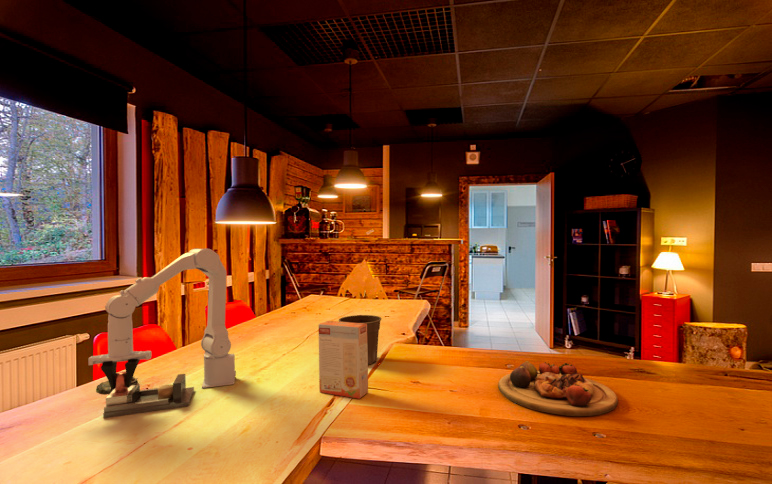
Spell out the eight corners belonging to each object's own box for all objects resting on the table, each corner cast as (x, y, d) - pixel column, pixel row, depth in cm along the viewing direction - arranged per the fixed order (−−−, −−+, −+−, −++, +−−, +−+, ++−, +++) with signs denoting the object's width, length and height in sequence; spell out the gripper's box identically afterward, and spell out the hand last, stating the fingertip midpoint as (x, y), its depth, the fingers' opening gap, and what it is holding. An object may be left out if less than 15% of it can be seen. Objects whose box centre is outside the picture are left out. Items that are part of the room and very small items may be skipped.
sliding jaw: (139, 394, 114) (139, 367, 114) (131, 405, 106) (131, 376, 106) (115, 397, 112) (115, 370, 112) (106, 409, 104) (105, 379, 104)
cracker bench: (193, 390, 120) (193, 370, 120) (188, 406, 109) (187, 384, 109) (118, 400, 113) (117, 379, 113) (103, 418, 102) (103, 394, 102)
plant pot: (333, 358, 152) (333, 316, 152) (371, 352, 159) (371, 313, 159) (347, 370, 137) (347, 324, 137) (389, 363, 144) (388, 320, 144)
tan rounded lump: (175, 393, 115) (175, 383, 115) (172, 399, 111) (172, 388, 111) (159, 395, 113) (159, 385, 113) (156, 401, 110) (156, 390, 110)
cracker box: (369, 392, 117) (368, 322, 117) (359, 400, 111) (358, 327, 111) (329, 385, 123) (328, 319, 123) (318, 392, 117) (317, 323, 117)
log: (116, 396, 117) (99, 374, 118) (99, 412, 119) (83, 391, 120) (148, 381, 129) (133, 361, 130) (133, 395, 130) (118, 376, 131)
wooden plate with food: (638, 424, 95) (638, 390, 95) (503, 413, 102) (503, 381, 102) (596, 380, 127) (596, 355, 127) (494, 374, 133) (494, 349, 133)
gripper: (83, 344, 102) (84, 396, 102) (146, 339, 107) (147, 388, 107) (93, 338, 109) (94, 387, 109) (152, 333, 114) (153, 380, 114)
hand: (121, 387), depth 109 cm, fingers closed on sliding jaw, 3 cm apart
